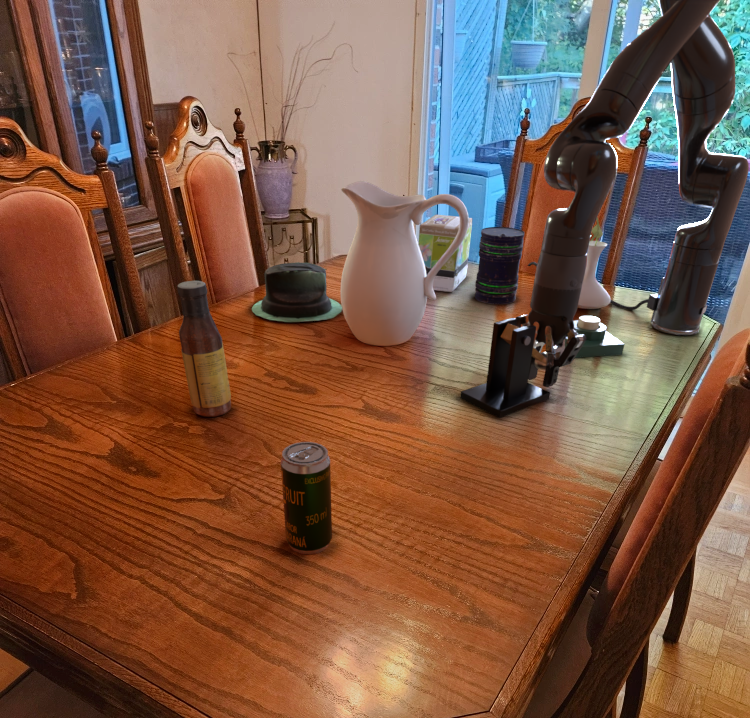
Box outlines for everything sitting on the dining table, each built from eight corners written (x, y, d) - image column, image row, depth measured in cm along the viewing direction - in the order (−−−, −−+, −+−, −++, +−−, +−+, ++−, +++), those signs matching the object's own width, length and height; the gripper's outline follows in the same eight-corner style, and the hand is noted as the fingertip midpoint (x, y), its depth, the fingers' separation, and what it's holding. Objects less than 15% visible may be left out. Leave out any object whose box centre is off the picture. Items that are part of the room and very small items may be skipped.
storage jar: (474, 290, 162) (481, 225, 154) (515, 293, 161) (524, 227, 153) (473, 303, 154) (480, 235, 145) (516, 305, 153) (526, 237, 144)
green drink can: (309, 522, 81) (305, 435, 74) (341, 540, 78) (340, 451, 71) (276, 543, 78) (269, 453, 71) (309, 562, 75) (305, 471, 68)
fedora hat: (327, 287, 159) (360, 315, 144) (264, 331, 158) (290, 364, 144) (296, 231, 149) (328, 255, 134) (228, 279, 148) (253, 308, 134)
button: (573, 324, 132) (575, 316, 131) (592, 323, 133) (594, 315, 132) (583, 331, 129) (584, 322, 128) (602, 330, 130) (603, 321, 129)
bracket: (509, 381, 117) (519, 309, 110) (549, 399, 111) (562, 325, 104) (459, 398, 111) (467, 323, 104) (499, 418, 105) (509, 340, 98)
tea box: (454, 293, 160) (459, 228, 152) (414, 288, 162) (417, 224, 154) (467, 277, 172) (473, 216, 164) (429, 273, 174) (433, 212, 166)
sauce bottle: (239, 405, 107) (226, 280, 96) (219, 421, 103) (203, 292, 91) (203, 398, 109) (186, 275, 98) (182, 414, 104) (162, 287, 93)
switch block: (548, 336, 137) (551, 316, 134) (593, 333, 139) (597, 314, 136) (574, 358, 127) (578, 337, 125) (622, 354, 129) (627, 334, 127)
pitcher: (327, 343, 131) (323, 189, 115) (360, 318, 144) (361, 176, 128) (443, 363, 123) (456, 202, 108) (467, 334, 136) (482, 186, 121)
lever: (536, 370, 116) (545, 353, 115) (550, 376, 114) (560, 359, 113) (496, 338, 105) (506, 319, 105) (511, 344, 103) (522, 325, 103)
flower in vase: (569, 295, 161) (590, 181, 147) (616, 304, 155) (642, 187, 141) (547, 308, 152) (567, 189, 138) (596, 318, 146) (621, 195, 132)
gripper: (609, 288, 103) (585, 391, 113) (539, 268, 112) (523, 365, 122) (579, 295, 99) (557, 401, 109) (509, 273, 108) (494, 373, 118)
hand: (539, 381), depth 115 cm, fingers closed on lever, 3 cm apart
